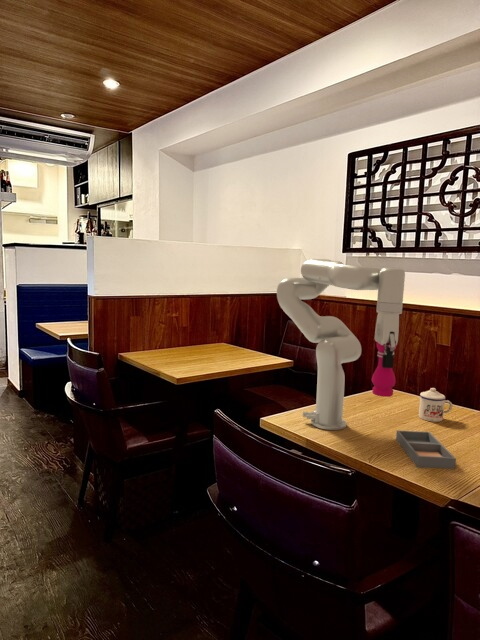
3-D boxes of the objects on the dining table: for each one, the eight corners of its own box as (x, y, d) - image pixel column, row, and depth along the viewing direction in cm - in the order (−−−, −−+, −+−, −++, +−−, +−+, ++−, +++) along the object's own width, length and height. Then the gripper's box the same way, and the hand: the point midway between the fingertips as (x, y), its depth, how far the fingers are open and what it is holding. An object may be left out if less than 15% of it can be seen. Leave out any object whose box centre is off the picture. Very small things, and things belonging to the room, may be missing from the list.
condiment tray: (417, 467, 130) (417, 456, 130) (396, 439, 151) (396, 430, 151) (455, 468, 130) (456, 458, 130) (428, 440, 151) (429, 431, 150)
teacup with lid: (421, 421, 170) (424, 391, 168) (415, 413, 179) (417, 384, 177) (455, 423, 168) (458, 393, 167) (446, 415, 177) (449, 386, 176)
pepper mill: (395, 398, 140) (401, 334, 137) (371, 396, 141) (376, 332, 139) (392, 391, 147) (398, 330, 144) (369, 389, 148) (374, 329, 146)
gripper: (370, 304, 149) (366, 359, 152) (384, 310, 132) (379, 371, 135) (393, 305, 149) (389, 360, 151) (410, 311, 132) (405, 372, 134)
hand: (384, 364), depth 143 cm, fingers closed on pepper mill, 5 cm apart
